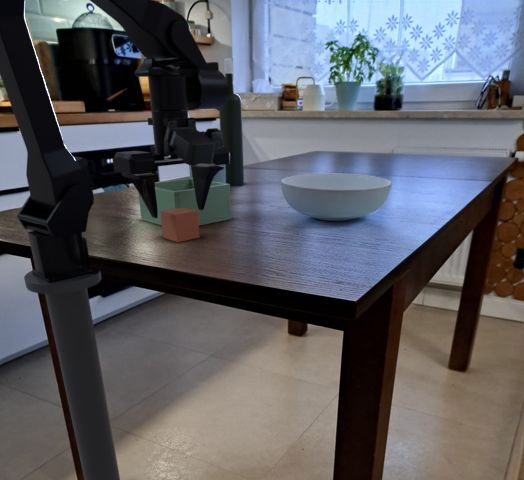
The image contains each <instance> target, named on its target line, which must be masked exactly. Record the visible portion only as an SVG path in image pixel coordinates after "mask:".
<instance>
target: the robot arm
mask: <svg viewBox="0 0 524 480" xmlns="http://www.w3.org/2000/svg"><path fill="white" fill-rule="evenodd" d="M89 1H90V2H91V3H92V4H93V5H95V6H96V7H97V8H99V9H100V10H101V11H102V12H103V13H105V14H106V15H108V16H109V17H110V18H112V19H113V20H114V21H115V22H117V23H118V25H119V26H120V27H121V28H122V29H123V30H124V32H125V34H126V36H127V38H128V40H129V42H130V43H131V45H133V46H134V47H135V48H136V49H137V50H138V51H139V53H140V54H141V55H142V56H144V59H143V61H142V63H141V64H140V66H138V67H137V68H136V70H135V71H134V75H135V77H138V78H147V81H148V90H149V91H148V93H149V102H150V110H151V117H147V125H148V126H152V130H153V131H152V132H153V133H152V134H153V141H154V145H151V146H150V147H149V148H150V151H141V150H128V151H117V152H115V155H114V157H113V159H112V164H113V172H115V173H120V174H122V177H123V178H128V179H129V181H130V182H131V183H132V185H133V186H134V188H135V189H136V191H137V192H139V194H140V196H141V197H142V199H143V201H144V203H145V205H146V207H147V208H148V210H149V212H150V214H151V216H152V217H153V218H157V217H158V208H157V200H156V192H155V183H156V182H157V179H158V174H155V173H153V171H154V170H155V168H156V167H157V168H158V167H165V166H166V167H167V166H176V165H184V164H185V165H188V166H189V165H191V171H192V177H193V183H194V190H195V196H196V201H197V205H198V209H199V210H204V207H205V203H206V200H207V196H208V192H209V189H210V186H211V183H212V180H213V178H214V176H215V175H216V174H217V173H218V172H219V171H220V170H223V169H224V166H219V165H224V164H230V153H229V151H228V150H227V148H226V146H223V138H222V131H220V128H217V127H213V128H207V129H206V130H205V131H202V130H201V131H199V130H198V129H197V122H196V120H195V117H190V110H215V109H217V110H219V108H222V107H223V106H224V105H225V103H226V102H227V99H228V95H229V85H228V84H227V81H226V78H225V74H223V72H221V71H220V68H219V66H220V65H219V62H218V61H208V62H207V61H206V59H205V57H204V55H203V53H202V51H201V49H200V48H199V45H198V44H197V41H196V39H195V38H194V35H193V34H192V31H191V30H190V24H189V22H188V20H187V19H186V18H185V16H184V15H183V14H181V13H180V12H178V11H177V10H175V9H173V8H172V7H170V6H169V5H166V4H165V3H162V2H160V1H157V0H89ZM25 12H26V0H0V78H1V81H2V83H3V88H4V89H5V92H6V95H7V98H8V101H9V103H10V106H11V109H12V112H13V115H14V118H15V120H16V123H17V126H18V129H19V131H20V135H21V137H22V140H23V144H24V146H25V149H26V153H27V155H26V171H25V172H26V173H25V175H26V181H27V186H28V191H29V196H28V197H27V199H26V200H25V202H24V204H23V205H22V207H21V208H20V210H19V211H18V212H17V214H16V218H17V220H18V221H19V224H20V225H21V226H22V228H23V229H24V230H29V231H28V232H27V236H28V240H29V245H30V250H31V254H32V259H33V263H34V268H33V269H31V271H32V273H33V274H34V275H36V276H38V277H40V278H41V279H43V280H45V281H46V282H48V283H52V282H57V281H61V280H65V279H70V278H74V277H78V276H82V275H87V274H91V273H93V269H91V268H89V266H91V259H90V254H89V248H88V247H89V246H88V242H87V238H86V237H84V236H83V233H85V232H86V231H87V227H88V221H89V213H90V211H91V209H92V207H93V205H94V204H95V196H94V195H95V194H94V191H93V190H96V189H97V186H96V184H95V183H94V181H93V179H92V177H91V173H90V166H89V163H88V160H87V158H86V157H80V156H74V155H73V154H72V152H70V150H69V149H68V147H67V146H66V144H65V141H64V137H63V135H62V132H61V128H60V126H59V121H58V118H57V116H56V113H55V109H54V106H53V102H52V100H51V96H50V93H49V90H48V87H47V84H46V81H45V78H44V75H43V70H42V69H41V66H40V62H39V58H38V56H37V53H36V49H35V46H34V43H33V39H32V37H31V33H30V31H29V27H28V24H27V21H26V15H25V14H26V13H25ZM139 194H138V195H139Z"/></svg>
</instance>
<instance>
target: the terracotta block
mask: <svg viewBox="0 0 524 480" xmlns="http://www.w3.org/2000/svg"><path fill="white" fill-rule="evenodd" d="M160 214H161V224H162V225H161V232H162V238H163V239H166V240H169V241H173V242H176V243H181V242H186V241H191V240H194V239H199V238H200V237H201V236H200V226H199V221H198V211H197V210H192V209H188V208H184V207H181V208H175V209H169V210H163V211H160Z"/></svg>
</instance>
